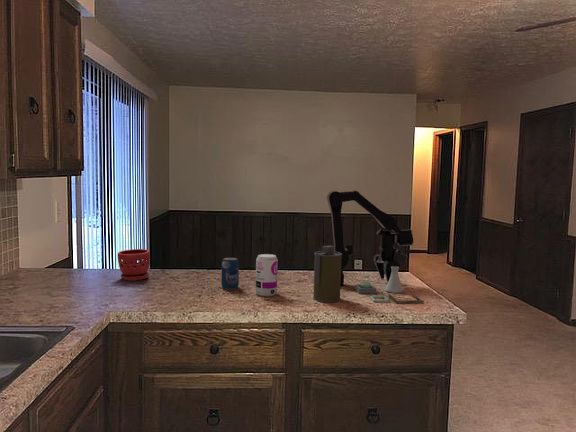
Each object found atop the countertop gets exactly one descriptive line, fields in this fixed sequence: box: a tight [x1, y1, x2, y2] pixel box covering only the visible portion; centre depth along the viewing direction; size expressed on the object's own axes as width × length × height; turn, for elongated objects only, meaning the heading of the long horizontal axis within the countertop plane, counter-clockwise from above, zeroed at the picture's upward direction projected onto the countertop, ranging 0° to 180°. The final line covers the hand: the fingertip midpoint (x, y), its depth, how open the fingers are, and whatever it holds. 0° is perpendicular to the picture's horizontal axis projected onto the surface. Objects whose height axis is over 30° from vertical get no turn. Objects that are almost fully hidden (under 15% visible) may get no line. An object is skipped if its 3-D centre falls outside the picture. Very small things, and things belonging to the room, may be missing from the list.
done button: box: [360, 281, 371, 288], centre depth 194 cm, size 4×4×2 cm
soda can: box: [220, 256, 240, 291], centre depth 194 cm, size 7×7×12 cm
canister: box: [312, 244, 342, 304], centre depth 180 cm, size 11×10×20 cm
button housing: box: [354, 283, 377, 295], centre depth 194 cm, size 7×7×2 cm
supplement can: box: [255, 253, 279, 297], centre depth 186 cm, size 8×8×15 cm
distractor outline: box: [369, 295, 391, 303], centre depth 181 cm, size 6×6×1 cm
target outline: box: [387, 294, 424, 305], centre depth 182 cm, size 10×10×1 cm
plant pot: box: [117, 248, 151, 282], centre depth 206 cm, size 13×13×12 cm
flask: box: [384, 266, 404, 294], centre depth 195 cm, size 7×7×10 cm
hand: (385, 281), depth 206 cm, fingers open, 9 cm apart
